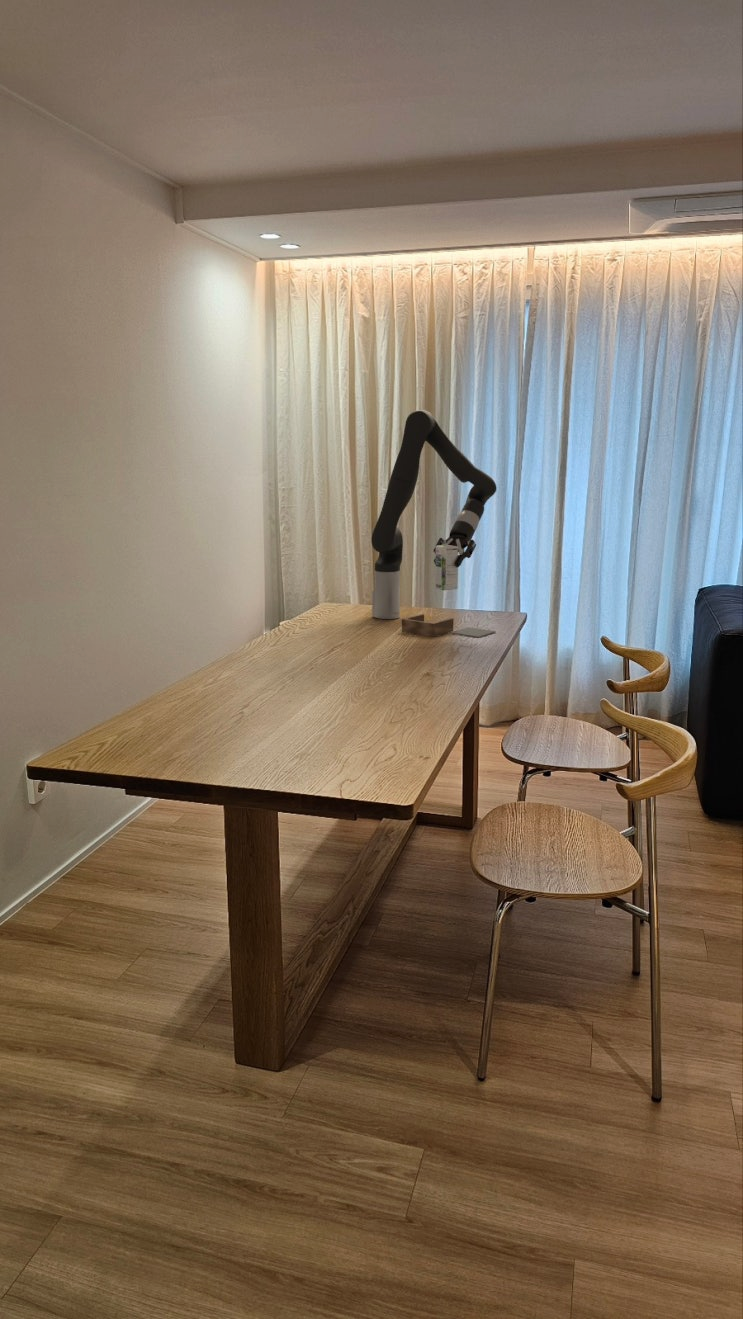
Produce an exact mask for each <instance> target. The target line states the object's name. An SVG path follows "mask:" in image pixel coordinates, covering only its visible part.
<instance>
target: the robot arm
mask: <svg viewBox="0 0 743 1319" xmlns="http://www.w3.org/2000/svg"><path fill="white" fill-rule="evenodd" d="M425 442H426V443H427V444H429V445H430V446H431V447H432V448H433V450H434V451H435V452H436V453H437V455H439V457H440V459H441V460H442V462H443V463H444V464H445V466H446V467H447V468H448V469H449V471H450V472H451V473H452V474H453V475H454V477H456V478H457V480H459V481H460V482H461V483H464V484H465V483H467V482H469V483H470V484H472V485H473V486H471V488H470V490H469V492H468V494H467V496H466V499H465V500H466V501H465V504H464V505H463V507H462V509H461V511H460V513H459V514H458V516H457V518H456V519H455V522H454V524H453V526H452V528H451V529H450V531H449V535H448V536H449V537H448V538H446V539H443V538H442V537H439V539H438V541H437V542H436V544H435V546H434V549H433V550H432V551H433V553H434V555H436V546H438V545H451V546H458V556H457V558H456V560H455V562H454V565H455V566H456V567H458V568H459V567H460V566H462V564H463V561H464V560H465V559H466V558H467V559H470V558H471V557H472V555H473V553H474V551H475V549H476V546H477V544H476V541H475V540H474V539H473V536H474V535H475V534H476V531H477V528H478V525H479V523H480V521H481V518H482V517H483V514H484V512H485V505H486V503H487V502H488V500H489V499H490V498H491V497H493V496H494V495H495V494H496V492H497V488H498V487H497V484H496V482H495V480H494V479H493V478H492V477H491V476H490V475H489V474H487V473H486V472H484V471H483V470H481V469H480V468H478V467H476V466H475V465H474V463H472V462H471V460H469V459H468V457H467V456H466V455H465V454H464V452H462V451H461V450H460V449H459V448H458V447H457V446H456V445H455V444H454V443H453V442H452V440H451V439H450V438H449V437H448V436H447V434H446V433H445V432H444V431H443V429H442V427H441V426H440V425H439V423H438V421H437V420H436V419H435V417H434V415H433V414H432V413H431V412H430V411H428V410H426V409H417V410H414V411H412V412H411V413H409V414H408V415H407V418H406V420H405V424H404V430H403V436H402V440H401V446H400V449H399V452H398V455H397V457H396V460H395V463H394V466H393V469H392V472H391V473H390V474H391V475H390V477H389V478H390V479H389V482H388V485H387V489H386V493H385V497H384V500H383V503H382V507H381V511H380V512H379V513H380V514H379V517H378V519H377V521H376V524H375V527H374V529H373V530H372V534H371V539H370V541H371V545H372V548H373V549H374V550H375V552H377V553H378V558H377V560H376V561H375V563H374V590H372V595H371V596H372V597H371V601H372V602H371V606H372V607H371V611H372V612H371V613H372V614H371V616H372V617H374V618H376V619H380V620H395V619H399V618H400V617H401V616H400V606H401V604H400V603H401V602H400V601H401V599H400V598H401V596H400V595H401V592H400V591H401V590H400V588H401V580H400V579H401V564H402V562H403V549H404V548H403V547H404V545H403V542H404V541H403V540H404V539H403V538H404V536H403V534H402V531H401V530H400V529H399V528H398V523H399V521H400V517H401V516H402V514H403V512H404V511H405V509H406V507H407V506H408V504H409V503H410V500H411V499H412V497H413V494H414V491H415V488H416V485H417V482H418V477H419V472H420V471H419V470H420V462H421V461H420V460H421V455H422V451H423V448H424V445H425ZM465 548H466V549H465ZM433 563H434V565H435V566H436V556H435V558H434V560H433Z"/></svg>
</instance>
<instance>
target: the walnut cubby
mask: <svg viewBox="0 0 743 1319" xmlns="http://www.w3.org/2000/svg"><path fill="white" fill-rule="evenodd" d="M451 631H454V618H453V617H450V618H446V619H442V620H439V621H435V622H428V621H425V613H420V614H417V615H413V616H408V617H405V618H402V619H401V633H404V632H405V633H404V634H410V633H411V635H417V636H423V635H424V636H425V637H429V636H431V638H435V636H436V637H438V635H439V636H442V635H446V634H448V632H449V633H451ZM445 633H446V634H445ZM424 636H423V637H424Z"/></svg>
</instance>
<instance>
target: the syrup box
mask: <svg viewBox="0 0 743 1319" xmlns="http://www.w3.org/2000/svg"><path fill="white" fill-rule="evenodd" d="M435 546H436V545H435ZM458 555H459V552H458V546H451V545H438V546H436V554H435V557H436V565H435V585H434V586H435V589H436V590H441V591H452V590H458V587H459V586H458V581H459V580H458V575H459V574H458V570H459V569H458V568H459V567H456V566H455V565H454V562H455V560H456V558H457V556H458Z"/></svg>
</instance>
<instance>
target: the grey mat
mask: <svg viewBox="0 0 743 1319" xmlns="http://www.w3.org/2000/svg"><path fill="white" fill-rule="evenodd" d="M496 632H497V631H496V630H490V629H485V628H484V629H482V628H477V627H476V628H475V627H469V626H468V627H464V628H461V629H457V630H453V632H450V634H451V633H452V634H451V635H455V634H459V635H458V636H462V635H465V636H464V637H469V636H471V637H470V638H475V637H477V639H480V638H483V637H486V635H487V636H489V634H490V635H492V634H495V633H496ZM479 637H480V638H479Z"/></svg>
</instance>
